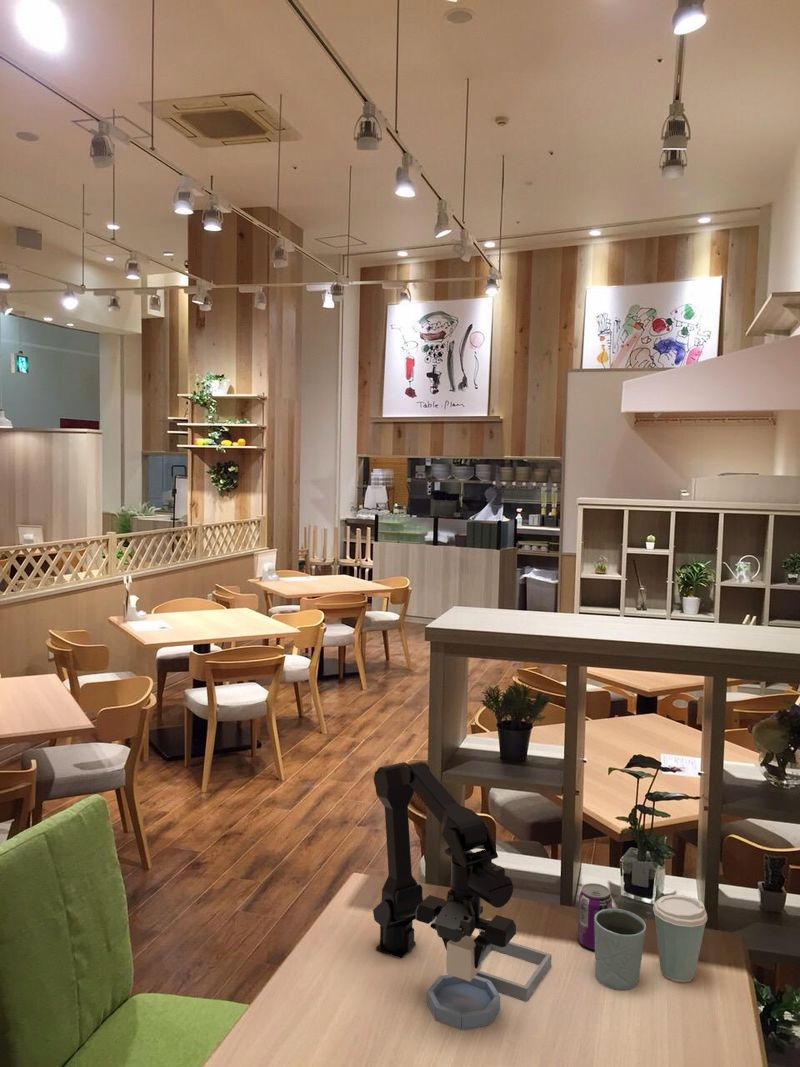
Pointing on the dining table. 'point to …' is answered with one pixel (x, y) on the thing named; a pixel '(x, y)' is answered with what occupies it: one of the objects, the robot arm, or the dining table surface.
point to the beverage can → (591, 911)
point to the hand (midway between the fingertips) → (464, 963)
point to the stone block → (462, 958)
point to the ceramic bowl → (463, 1001)
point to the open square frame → (525, 954)
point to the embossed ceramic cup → (618, 948)
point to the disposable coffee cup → (679, 935)
